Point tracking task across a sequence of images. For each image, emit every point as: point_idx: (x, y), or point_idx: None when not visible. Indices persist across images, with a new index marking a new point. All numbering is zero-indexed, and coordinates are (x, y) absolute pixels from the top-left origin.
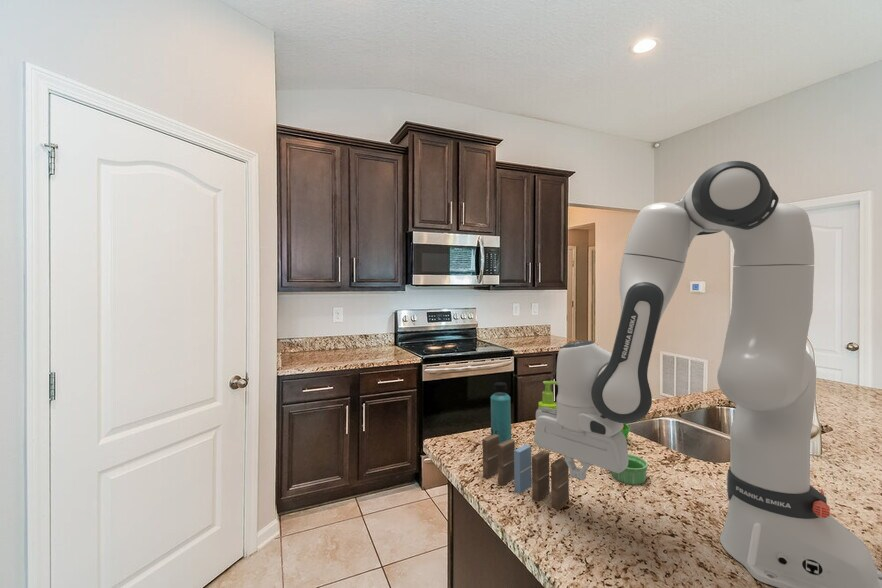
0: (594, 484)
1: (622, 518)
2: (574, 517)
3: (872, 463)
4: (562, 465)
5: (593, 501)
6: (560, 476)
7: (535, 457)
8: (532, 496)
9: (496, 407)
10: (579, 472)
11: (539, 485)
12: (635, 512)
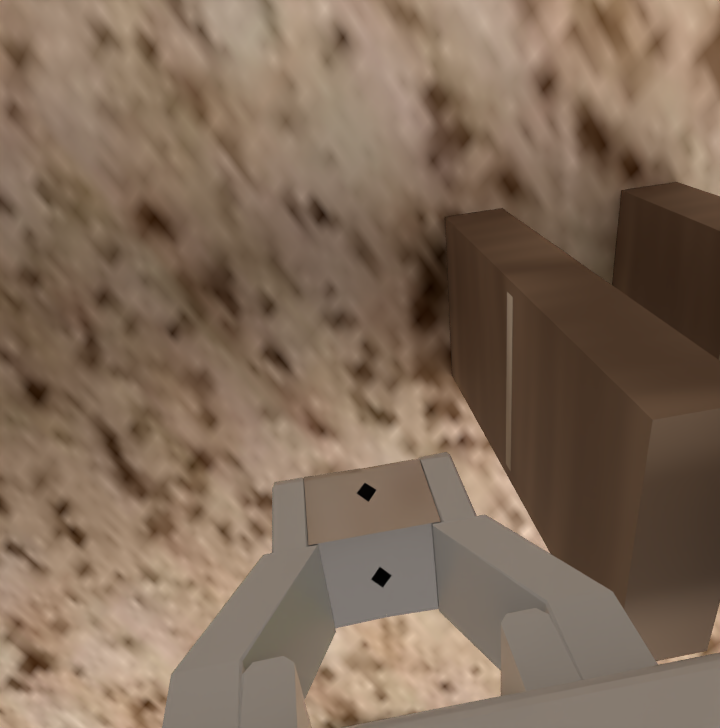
0: (446, 625)
1: (112, 490)
2: (308, 247)
3: None
4: (610, 518)
5: None
6: (553, 393)
7: None
8: (688, 187)
9: None
10: (313, 542)
11: (699, 252)
12: (117, 588)
